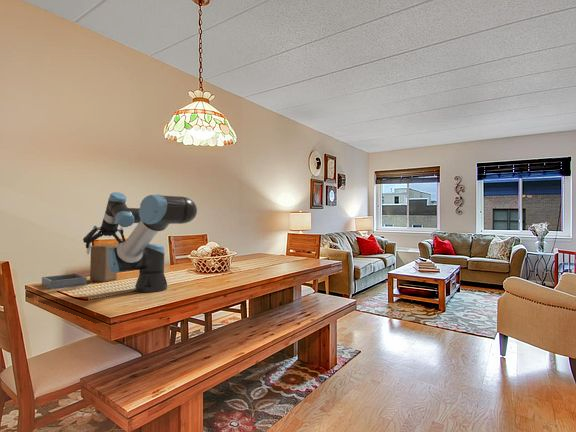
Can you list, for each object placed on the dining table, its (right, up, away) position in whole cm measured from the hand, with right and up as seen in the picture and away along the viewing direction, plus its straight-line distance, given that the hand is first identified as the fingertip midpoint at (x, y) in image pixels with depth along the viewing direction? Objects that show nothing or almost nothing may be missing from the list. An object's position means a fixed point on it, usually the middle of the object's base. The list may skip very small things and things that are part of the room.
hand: (102, 252), depth 176 cm
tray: (-18, -17, -3) cm, 25 cm away
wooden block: (-5, -17, +11) cm, 21 cm away
